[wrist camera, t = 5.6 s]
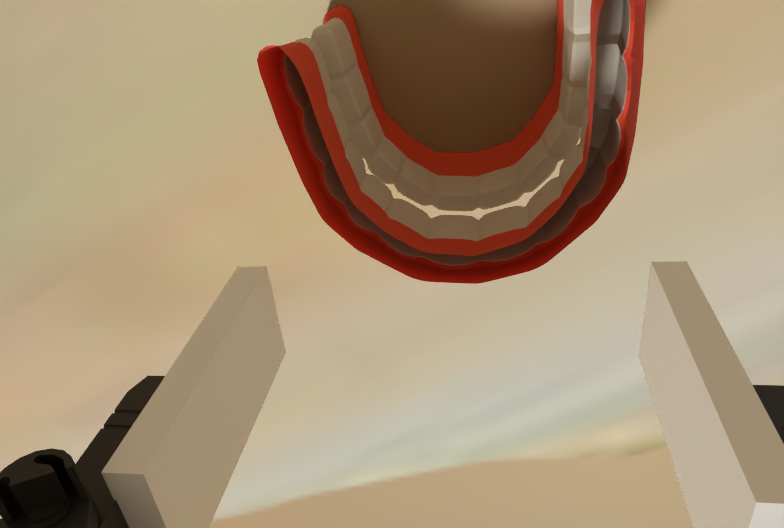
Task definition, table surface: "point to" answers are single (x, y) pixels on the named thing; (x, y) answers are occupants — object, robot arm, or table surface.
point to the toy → (458, 169)
